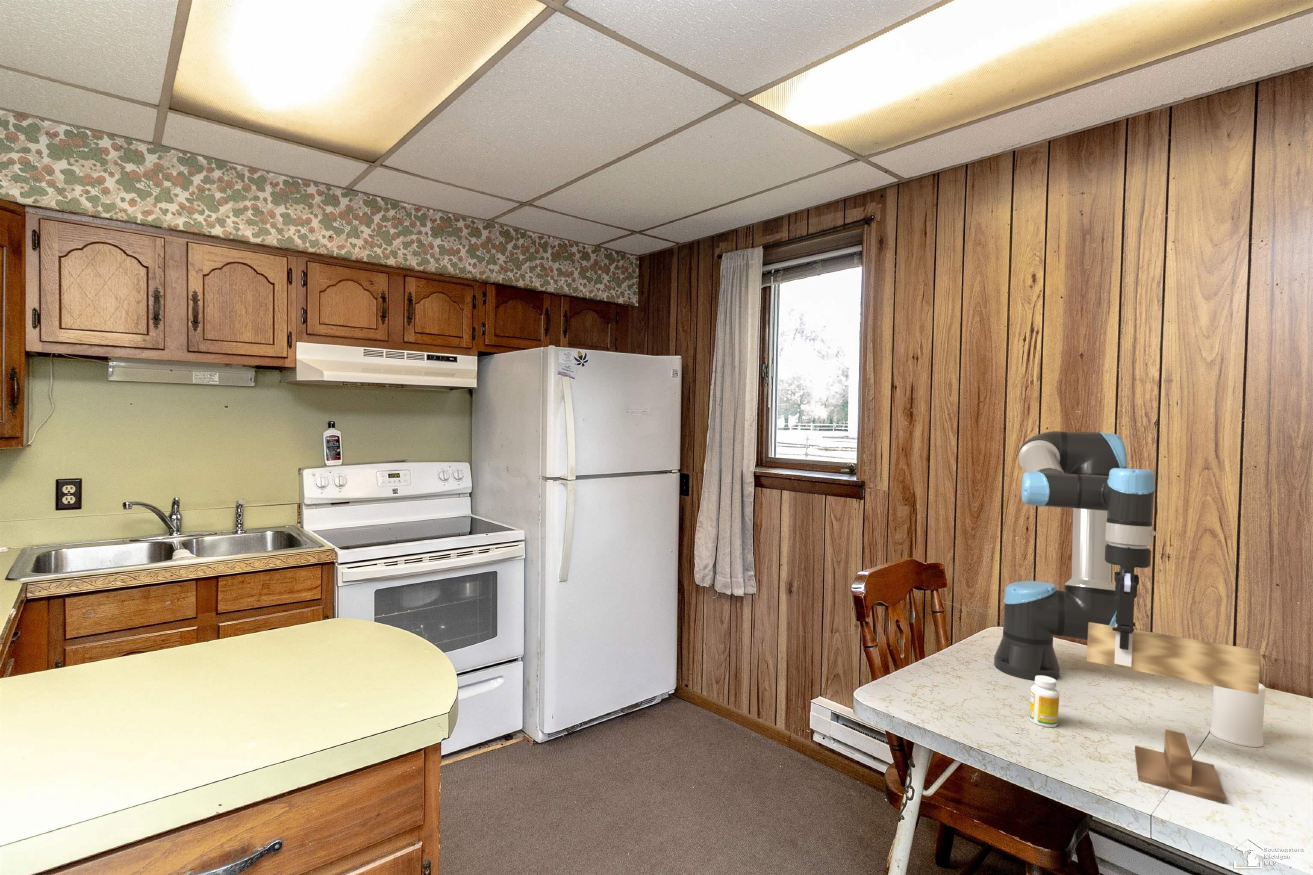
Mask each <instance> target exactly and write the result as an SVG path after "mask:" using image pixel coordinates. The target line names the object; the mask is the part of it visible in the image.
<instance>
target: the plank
mask: <svg viewBox="0 0 1313 875" xmlns="http://www.w3.org/2000/svg"><path fill="white" fill-rule="evenodd" d="M1112 628H1116V627H1115V626H1109V625H1103V624H1097V623H1091V622H1089V623H1088V640H1087V642H1086V643H1087V644H1086V662H1090V663H1094V664H1095V663H1096V664H1098V665H1099V664H1100V665H1105V666H1110V667H1116V668H1122V669H1126V670H1131V671H1136V672H1141V673H1147V674H1151V675H1156V676H1162V677H1167V678H1172V679H1177V680H1183V681H1188V682H1193V683H1197V684H1202V685H1209V686H1213V687H1214V686H1218V687H1223V688H1228V689H1233V690H1238V691H1244V692H1249V693H1254V694H1258V692H1259V683H1260V666H1261V654H1260V653H1259V652H1258V651H1257V650H1256V649H1252V648H1246V647H1241V646H1237V645H1236V646H1235V645H1229V644H1224V643H1223V644H1222V643H1216V642H1212V641H1211V642H1210V641H1206V640H1199V639H1192V638H1188V637H1187V638H1186V637H1182V636H1181V637H1180V636H1175V635H1171V634H1169V635H1168V634H1163V633H1157V632H1151V631H1144V630H1141V629H1140V630H1138V629H1134V631H1133V632H1132V633H1133V641H1132V662H1131V667H1130V666H1124V665H1119V664H1114V661H1115V640H1116V631H1112Z"/></svg>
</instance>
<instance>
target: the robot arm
mask: <svg viewBox="0 0 1313 875" xmlns="http://www.w3.org/2000/svg"><path fill="white" fill-rule="evenodd" d="M1017 452H1018V454H1017V460H1018V463H1019V466H1020V467H1021V469H1022V470H1023V471H1024V473H1023V475H1022V479H1021V491H1020V492H1021V500H1022V502H1023V503H1024V504H1025V505H1031V506H1037V507H1040V508H1041V507H1049V508H1065V509H1072V542H1071V544H1072V548H1071V550H1072V551H1071V578H1070V579H1069V580H1068V581H1066V582H1065V583H1064V590H1058V589H1057V586H1056V585H1055V584H1054V583H1051V582H1048V581H1047V582H1045V581H1041V580H1037V581H1036V580H1024V581H1022V580H1021V581H1015V582H1011V583H1010V584H1008V585H1007V586H1006V587H1005V591H1004V593H1005V594H1004V599H1003V603H1004V608H1003V609H1004V610H1003V611H1004V612H1003V624H1002V638H1001V639H1000V642H999V645H998V646H997V648H996V652H995V654H994V657H993V665H994V667H995V668H996V669H997V670H999V671H1001V672H1002V673H1005V674H1009V675H1011V676H1014V677H1016V678H1017V677H1018V678H1021V679H1027V680H1031V681H1032V680H1033V681H1035V676H1038V675H1042V676H1048V677H1051V678H1053V679H1055V680H1056V681H1057V680H1058V679H1059V678H1060V671H1061V670H1060V665H1059V663H1058V662H1059V661H1058V658H1057V655H1056V652H1055V648H1054V636H1056V637H1057V636H1058V637H1063V638H1070V639H1076V640H1083V641H1088V623H1089V622H1091V623H1097V624H1103V625H1109V626H1115V627H1116V628H1112V631H1116V640H1115V661H1114V664H1119V665H1124V666H1130V667H1131V662H1132V641H1133V633H1132V632H1133V631H1134V630H1135V627H1136V622H1135V621H1134V618H1135V617H1134V616H1135V599H1136V598H1137V597H1138V585H1139V584H1140V576H1139V574H1135V568H1136V569H1137V568H1138V569H1146V568H1149V567H1151V565H1152V550H1151V548H1149V547H1150V546H1151V545H1152V537H1154V536H1156V535H1157V532H1156V531H1155V530H1153V519H1154V518H1153V515H1154V502H1155V501H1154V500H1155V499H1154V498H1155V490H1156V485H1155V474H1154V472H1153V471H1152V470H1151V469H1141V468H1140V469H1139V468H1128V465H1129V464H1128V463H1129V461H1128V455H1127V449H1126V445H1125V442H1124V440H1123V439H1122V437H1121V436H1120V435H1119V434H1118V435H1117V434H1115V433H1108V432H1107V433H1106V432H1100V431H1097V432H1096V431H1095V432H1090V431H1085V432H1083V431H1082V432H1081V431H1058V430H1057V431H1047V432H1043V433H1039V434H1036V435H1033V436H1031V437H1030V438H1029V439H1027V440H1025V441H1024V442H1023V443H1022V444H1021V446H1020V447H1019V450H1018V451H1017ZM1113 565H1114V566H1119V571H1114V573H1113V574H1114V582H1115V583H1114V584H1115V585H1114V584H1113V583H1112V566H1113Z"/></svg>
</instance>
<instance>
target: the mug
mask: <svg viewBox="0 0 1313 875" xmlns="http://www.w3.org/2000/svg"><path fill="white" fill-rule="evenodd" d="M1212 694H1213V695H1212V710H1211V711H1212V712H1211V724H1210V728H1209V732H1210V733H1211V734H1212V735H1213V736H1214V737H1216V738H1218V739H1220V740H1222V741H1225V742H1228V743H1231V744H1233V745H1234V744H1235V745H1238V746H1243V747H1249V748H1261V747H1263V746H1264V744H1265V743H1264V739H1263V732H1264V730H1263V729H1264V716H1265V715H1264V714H1265V700H1266V699H1265V698H1266V697H1265V695H1266V686H1265V685H1264V684H1262V683H1260V682H1259V692H1258V694H1254V693H1249V692H1244V691H1238V690H1233V689H1228V688H1223V687H1218V686H1213V693H1212Z"/></svg>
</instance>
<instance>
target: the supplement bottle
mask: <svg viewBox="0 0 1313 875" xmlns="http://www.w3.org/2000/svg"><path fill="white" fill-rule="evenodd" d="M1056 688H1057V679H1056V680H1055V679H1053V678H1051V677H1048V676H1042V675H1038V676H1035V680H1034V684H1033V685H1032V686H1031V687H1030V694H1029V695H1030V696H1029V708H1028V710H1029V711H1028V719H1029V720H1030V722H1032V724H1035V725H1038V726H1040V727H1046V728H1055V727H1057V726H1058V720H1059V708H1060V707H1059V705H1060V693H1059V691H1058V690H1057V689H1056Z"/></svg>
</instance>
